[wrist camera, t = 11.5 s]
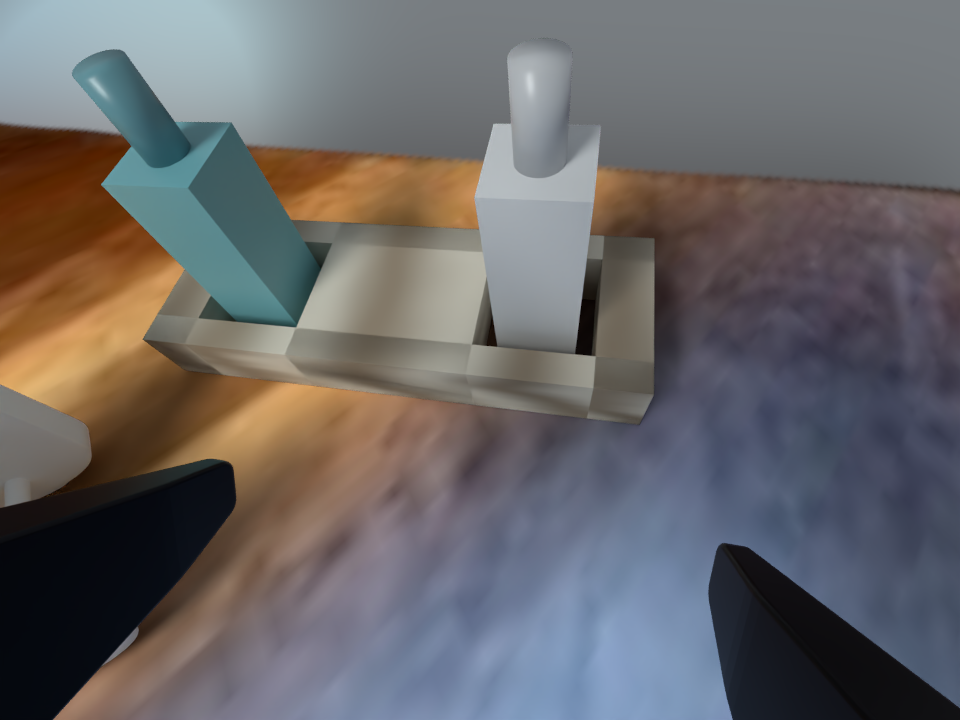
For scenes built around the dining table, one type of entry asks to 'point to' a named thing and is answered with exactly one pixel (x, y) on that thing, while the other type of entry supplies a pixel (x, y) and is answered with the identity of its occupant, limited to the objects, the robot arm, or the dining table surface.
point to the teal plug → (202, 199)
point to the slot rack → (428, 326)
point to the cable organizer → (40, 454)
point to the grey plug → (537, 204)
